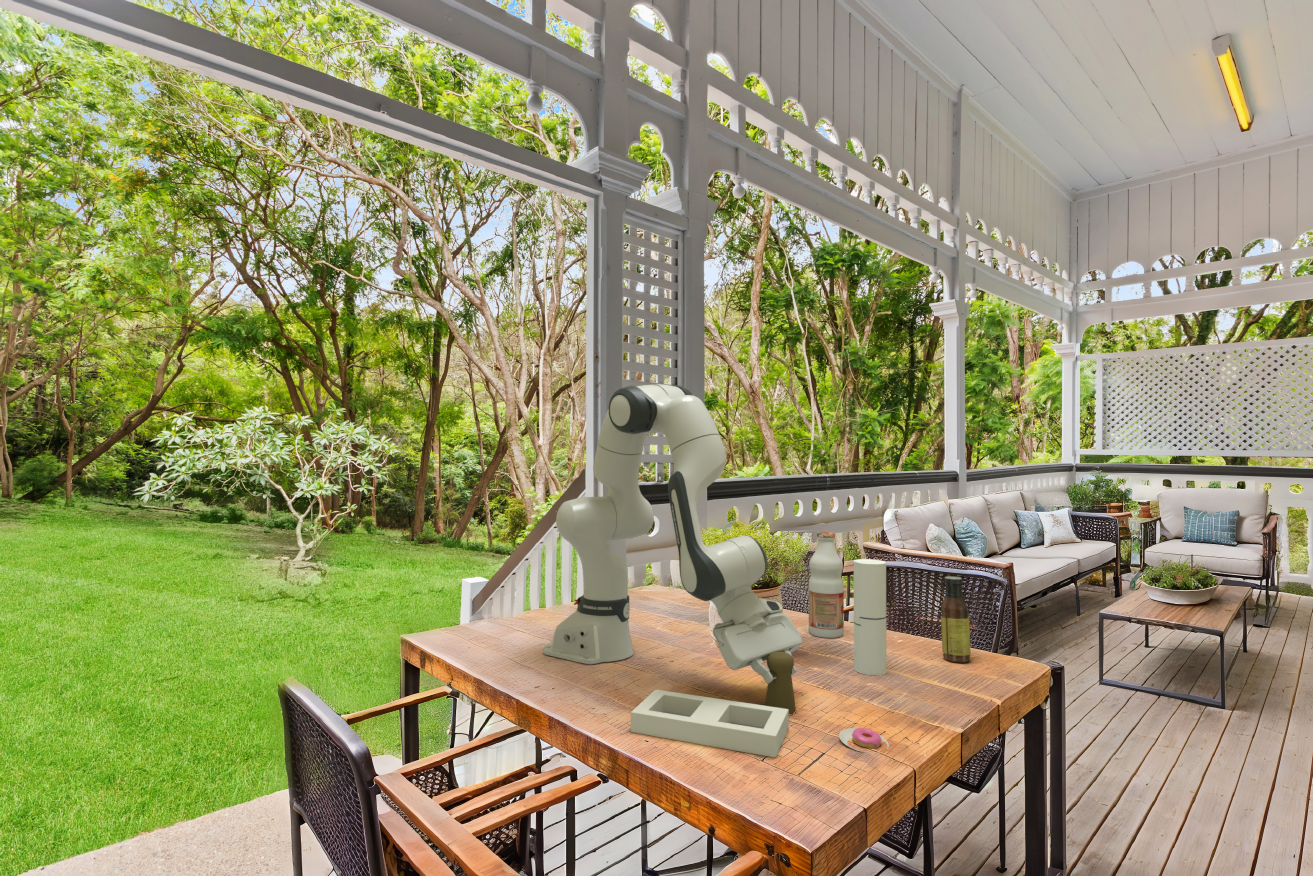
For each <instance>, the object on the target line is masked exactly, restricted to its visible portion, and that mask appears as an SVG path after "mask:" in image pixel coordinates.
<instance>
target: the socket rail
mask: <svg viewBox="0 0 1313 876" xmlns="http://www.w3.org/2000/svg"><path fill="white" fill-rule="evenodd" d="M789 719H790V716H789V709H783V708H777V707H770V706H765V705H762V704H756V703H749V702H743V701H735V700H731V699H730V700H728V699H722V698H715V697H709V696H708V697H707V696H701V695H696V694H695V695H694V694H688V693H681V692H673V691H668V690H661V689H654V690H653V691H652V692H651V693H650V694H649V695H648V696H647V697H645V698H644V700H642V701H641V702H640V703H639V704H638V705H637V706H635V708H634V709H633V710H631V711H630V733H634V734H641V735H645V736H652V737H657V738H662V739H667V740H668V739H669V740H674V741H681V742H686V743H689V744H690V743H692V744H696V745H702V746H708V747H714V748H719V749H726V750H731V751H735V752H736V751H737V752H741V753H749V754H752V755H759V756H764V757H771V758H775V759H776V758H777V756H778V754H779V752H780V750H781V747H782V744H783V742H784V741H785V738H786V735H787V734H788V731H789V727H790V726H789V721H790V720H789ZM786 733H787V734H786Z"/></svg>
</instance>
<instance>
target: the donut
mask: <svg viewBox="0 0 1313 876" xmlns="http://www.w3.org/2000/svg"><path fill="white" fill-rule="evenodd" d="M838 738H839V741H840V742H842V743H843V744H844V745H845V746H847V747H848V748H850V749H852V750H854V751H858V752H861V753H865V754H871V752H870V751H862V750H860V749H856V748H854V747H852V746H850V745H849V743H848V742H849V741H850V740H851V739H852V741H853V742H854V743H855V745H858V746H859V747H861V748H864V749H865V748H866V749H876V748H879V747H880V746H881V744H882V741H883V742H884V743H885V744H887V748H886V750H888V749H889V747H890V744H889V742H888V740H887V739H886V738H885V737H884V736H882V735H881V734H879V733H877V732H876V731H874V730H873V729H870V728H865V727H863V728H862V727H850V728H844V729H842V730H841V731H840V732H839V734H838ZM876 753H878V754H879V753H880V751H879V752H876Z"/></svg>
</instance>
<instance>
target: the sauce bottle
mask: <svg viewBox="0 0 1313 876" xmlns="http://www.w3.org/2000/svg"><path fill="white" fill-rule="evenodd" d="M943 579H944V581H943V582H944V584H945V586H944V587H945V593H944V594H945V595H944V599H943V600H942V602H941V605H940V608H941V609H940V611H941V614H940V619H941V620H940V622H941V623H940V625H941V626H940V627H941V645H942V647H941V648H942V651H941V652H942V657H943V659H945V660H946V661H947V662H952V663H958V664H963V663H964V664H965V663H968V662H970V661H971V635H970V634H971V630H970V614H969V610H968V607H967V604H966V601H965V598H964V595H963V583H964V581H963V578H962V577H959V576H949V575H948V576H945V577H944V578H943Z"/></svg>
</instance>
